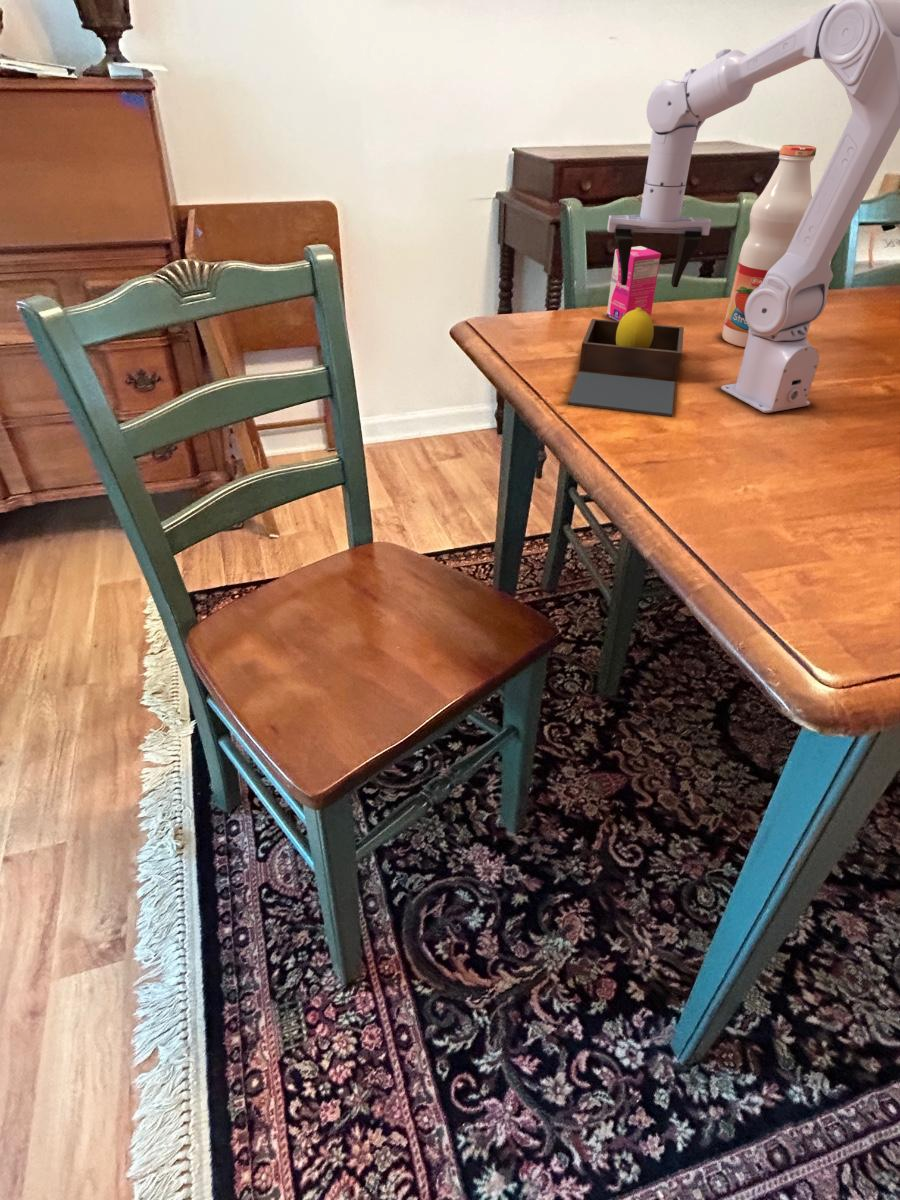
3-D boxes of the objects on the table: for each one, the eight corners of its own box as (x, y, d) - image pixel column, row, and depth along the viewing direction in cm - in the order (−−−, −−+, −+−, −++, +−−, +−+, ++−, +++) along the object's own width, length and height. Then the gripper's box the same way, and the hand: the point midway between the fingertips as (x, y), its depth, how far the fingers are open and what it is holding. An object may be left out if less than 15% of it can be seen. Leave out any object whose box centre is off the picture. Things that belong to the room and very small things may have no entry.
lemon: (646, 355, 117) (655, 303, 112) (650, 367, 113) (659, 313, 108) (611, 353, 118) (618, 301, 113) (613, 366, 113) (621, 312, 108)
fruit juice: (772, 332, 128) (824, 143, 111) (785, 351, 120) (842, 151, 103) (716, 330, 129) (759, 141, 112) (725, 348, 121) (772, 149, 104)
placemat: (674, 384, 109) (675, 381, 108) (671, 416, 99) (672, 413, 99) (579, 374, 111) (579, 371, 111) (567, 404, 102) (567, 401, 102)
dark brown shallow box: (678, 354, 119) (684, 327, 116) (676, 382, 109) (682, 353, 107) (588, 345, 122) (591, 318, 119) (578, 371, 112) (581, 343, 110)
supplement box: (604, 316, 134) (614, 248, 127) (631, 312, 136) (642, 245, 129) (623, 326, 130) (634, 255, 123) (651, 321, 132) (663, 252, 125)
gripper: (712, 180, 108) (692, 279, 116) (611, 178, 109) (599, 276, 117) (721, 188, 102) (700, 291, 110) (615, 185, 103) (602, 288, 112)
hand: (648, 284), depth 113 cm, fingers open, 7 cm apart
